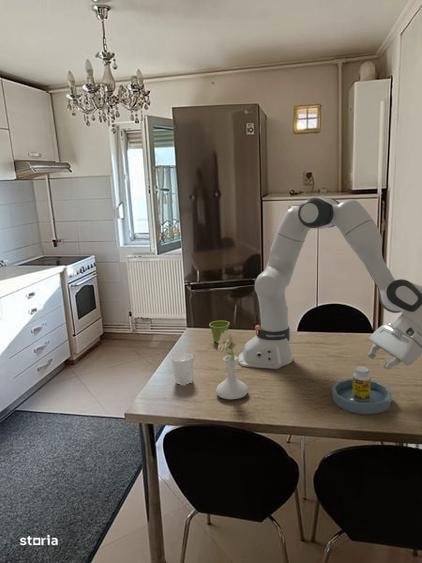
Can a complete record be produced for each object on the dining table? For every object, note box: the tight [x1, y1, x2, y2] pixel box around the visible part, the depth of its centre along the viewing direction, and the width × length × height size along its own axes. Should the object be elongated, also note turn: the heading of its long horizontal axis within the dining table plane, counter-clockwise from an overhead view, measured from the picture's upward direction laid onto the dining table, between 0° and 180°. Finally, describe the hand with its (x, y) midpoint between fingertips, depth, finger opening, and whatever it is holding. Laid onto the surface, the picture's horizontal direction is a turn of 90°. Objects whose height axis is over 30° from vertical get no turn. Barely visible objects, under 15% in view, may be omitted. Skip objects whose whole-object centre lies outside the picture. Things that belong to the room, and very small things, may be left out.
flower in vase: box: [215, 329, 249, 400], centre depth 149 cm, size 13×11×25 cm
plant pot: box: [209, 320, 230, 344], centre depth 203 cm, size 9×9×9 cm
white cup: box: [171, 352, 194, 386], centre depth 164 cm, size 8×8×10 cm
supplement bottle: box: [352, 366, 372, 401], centre depth 142 cm, size 6×6×10 cm
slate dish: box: [331, 377, 393, 415], centre depth 144 cm, size 18×18×4 cm
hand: (377, 362), depth 142 cm, fingers open, 8 cm apart
